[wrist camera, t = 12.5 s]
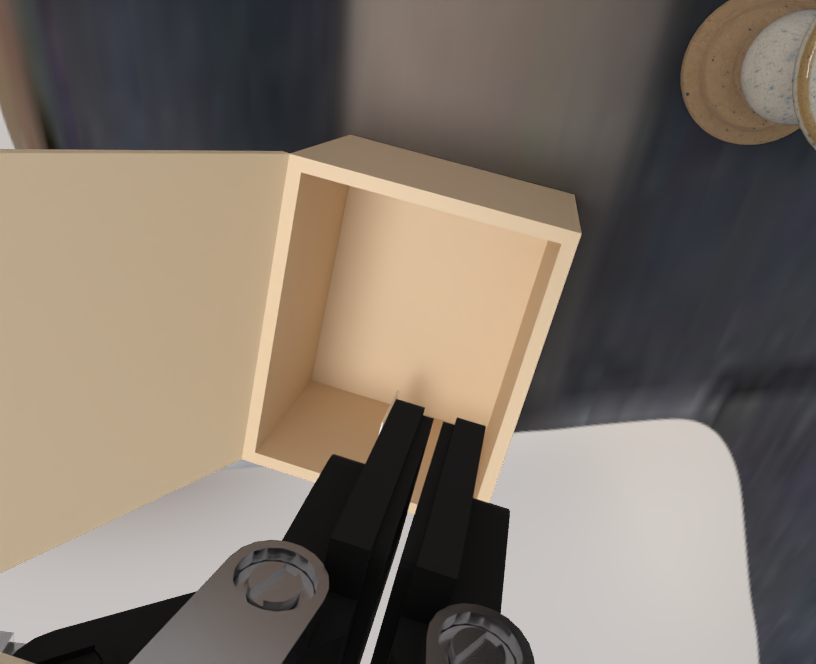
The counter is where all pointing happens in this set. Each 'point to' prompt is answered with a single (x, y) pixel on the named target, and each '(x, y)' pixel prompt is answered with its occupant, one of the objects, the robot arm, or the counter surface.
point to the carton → (402, 304)
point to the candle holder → (753, 71)
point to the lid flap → (125, 328)
